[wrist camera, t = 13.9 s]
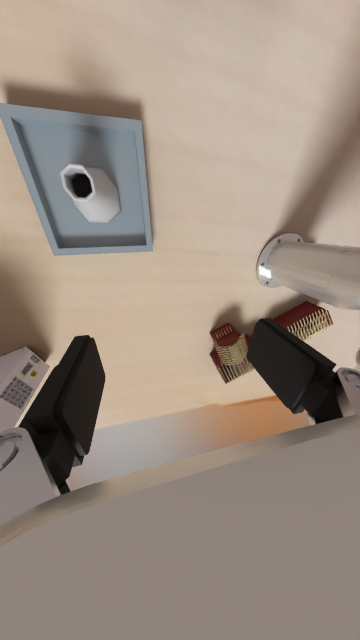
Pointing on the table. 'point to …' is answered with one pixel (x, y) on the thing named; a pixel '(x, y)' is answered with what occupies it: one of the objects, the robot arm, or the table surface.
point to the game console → (18, 383)
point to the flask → (91, 192)
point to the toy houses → (234, 346)
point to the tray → (91, 151)
